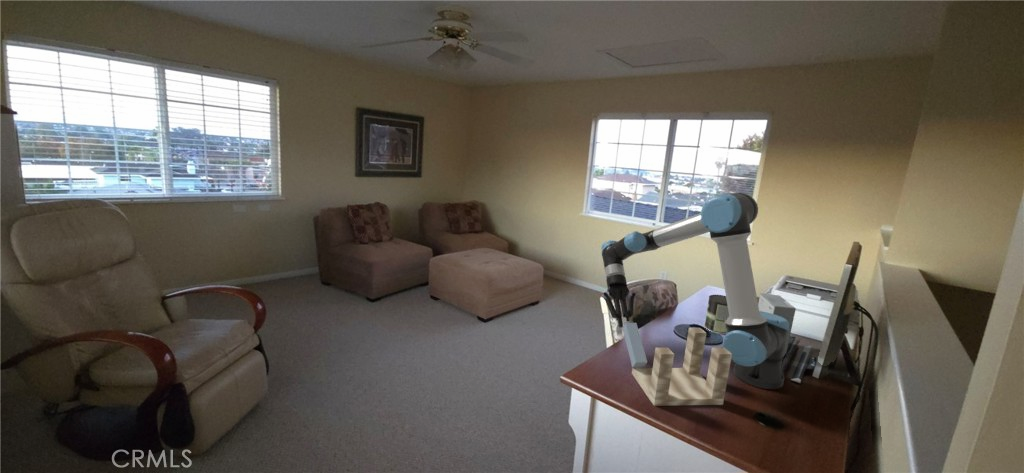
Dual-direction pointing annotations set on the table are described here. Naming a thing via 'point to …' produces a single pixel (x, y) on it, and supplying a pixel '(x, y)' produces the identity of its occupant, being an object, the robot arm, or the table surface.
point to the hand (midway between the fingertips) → (626, 335)
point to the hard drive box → (777, 310)
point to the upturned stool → (686, 375)
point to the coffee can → (717, 314)
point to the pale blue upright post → (634, 344)
